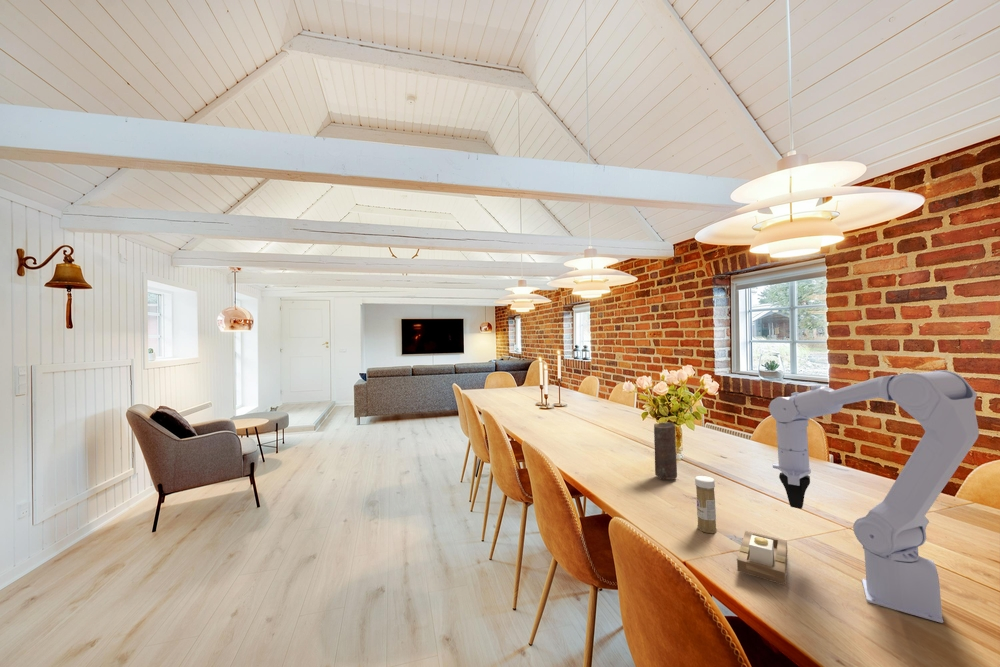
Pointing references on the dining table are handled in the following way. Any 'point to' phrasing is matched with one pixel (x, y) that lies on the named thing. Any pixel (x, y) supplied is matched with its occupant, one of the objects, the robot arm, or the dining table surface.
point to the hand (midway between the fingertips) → (796, 506)
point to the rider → (761, 550)
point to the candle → (665, 450)
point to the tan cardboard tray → (761, 570)
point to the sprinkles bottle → (706, 504)
